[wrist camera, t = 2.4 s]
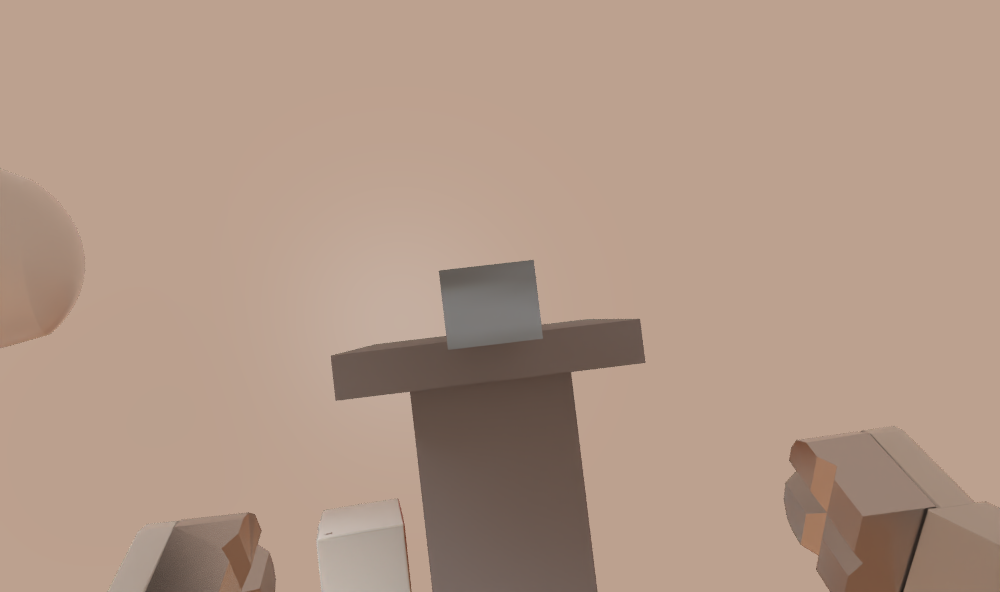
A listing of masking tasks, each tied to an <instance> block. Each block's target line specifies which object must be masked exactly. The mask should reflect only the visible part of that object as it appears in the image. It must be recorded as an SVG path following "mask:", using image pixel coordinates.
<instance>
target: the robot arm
mask: <svg viewBox="0 0 1000 592" xmlns="http://www.w3.org/2000/svg"><path fill="white" fill-rule="evenodd" d="M84 273H85V256H84V250H83V245H82V241H81V238H80V235H79V233H78V231H77V228H76V226H75V224H74V222H73V221H72V219H71V217H70V216H69V214H68V213H67V212H66V210H65V209H64V208H63V206H62V205H61V204H60V203H59V202H58V201H57V200H56V199H55V198H54V197H53V196H52V195H51V194H50V193H49V192H48V191H46V190H45V189H44V188H43V187H41V186H40V185H39V184H37V183H36V182H34V181H33V180H31V179H28V178H25V177H22V176H20V175H17V174H14V173H12V172H9V171H6V170H3V169H1V168H0V348H4V347H8V346H11V345H14V344H18V343H22V342H25V341H29V340H32V339H36V338H39V337H43V336H46V335H49V334H51V333H52V332H53V331H54V330H55V329H56V328H57V327H59V325H60V324H61V323H62V322H63V321H64V320H65V318H66V317H67V316H68V315H69V313H70V311H71V310H72V308H73V307H74V305H75V303H76V301H77V299H78V296H79V294H80V291H81V288H82V285H83V279H84ZM789 461H790V462H791V463H792V465H793V467H794V468H795V470H796V472H795V473H794V474H793V475H792V476H791V477H790V478H789V479H788V481H787V482H786V483H785V492H784V504H785V509H786V515H787V519H788V521H789V524H790V526H791V528H792V531H793V533H794V534H795V536H796V538H797V539H798V541H799V542H800V544H801V545H802V546H804V547H805V548H807V549H809V550H810V551H812V552H814V553H815V554H817V555H818V556H819V557H818V562H817V568H816V570H817V572H818V573H819V575H820V576H821V578H822V580H823V581H824V583H825V584H826V586H827V587H828V589H829V590H830V592H1000V508H999V507H997V506H995V505H992V504H990V503H988V502H977V503H975V502H974V501H973V500H972V499H971V498H970V497H969V496H968V495H967V494H966V493H965V492H964V491H963V490H962V489H961V488H960V487H959V486H958V485H957V484H956V483H955V482H954V481H953V480H952V479H951V478H950V477H949V476H948V475H947V474H946V473H945V472H944V471H943V470H942V469H941V468H940V467H939V466H938V465H937V464H936V463H935V462H934V461H933V460H932V459H931V458H930V457H929V456H928V455H927V454H926V452H924V451H923V449H922V448H920V446H919V445H917V444H916V442H915V441H914V440H913V439H912V438H911V437H909V435H908V434H907V433H906V432H904V431H903V430H902V429H900V428H897V427H895V426H891V427H883V428H877V429H870V430H863V431H860V432H850V433H843V434H836V435H829V436H822V437H816V438H808V439H801V440H796V441H795V443H794V444H793V446H792V447H791V452H790V458H789ZM260 534H261V528H260V526H259V523H258V521H257V518H256V516H255V514H252V513H239V514H230V515H221V516H212V517H202V518H193V519H184V520H181V521H173V522H163V523H154V524H153V523H152V524H146V525H145V526H144V527H143V528H142V529H141V530H139V531H138V533H137V534H136V536H135V538H134V540H133V542H132V545H131V546H130V548H129V550H128V552H127V554H126V556H125V558H124V560H123V562H122V564H121V566H120V568H119V570H118V572H117V573H116V575H115V578H114V579H113V581H112V584H111V585H110V587H109V589H108V591H107V592H275V580H276V579H275V572H274V566H273V562H272V559H271V556H270V553H269V551H267V550H266V549H264V548H263V547H261V546H259V545H258V541H259V538H260Z"/></svg>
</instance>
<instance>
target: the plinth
mask: <svg viewBox="0 0 1000 592" xmlns="http://www.w3.org/2000/svg"><path fill="white" fill-rule="evenodd" d="M541 327H542V335H543V339H536V340H527V341H519V342H511V343H502V344H494V345H485V346H477V347H469V348H460V349H452V350H448V345H447V336H443V337H434V338H425V339H417V340H408V341H401V342H392V343H383V344H376V345H372V346H367V347H363V348H360V349H356V350H352V351H348V352H344V353H340V354H336V355H332V356H331V362H332V371H333V379H334V389H335V398H336V400H345V399H353V398H361V397H369V396H376V395H385V394H394V393H402V392H410V395H411V403H412V412H413V421H414V430H415V438H416V447H417V456H418V465H419V475H420V483H421V492H422V501H423V510H424V519H425V528H426V537H427V546H428V554H429V563H430V572H431V580H432V590H433V592H597V585H596V576H595V568H594V561H593V552H592V543H591V535H590V528H589V518H588V510H587V502H586V493H585V486H584V477H583V469H582V460H581V452H580V444H579V435H578V427H577V419H576V411H575V402H574V395H573V386H572V378H571V372H574V371H582V370H590V369H598V368H606V367H615V366H622V365H631V364H639V363H645V356H644V348H643V340H642V333H641V324H640V319H587V320H577V321H569V322H560V323H552V324H544V325H541Z"/></svg>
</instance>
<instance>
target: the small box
mask: <svg viewBox="0 0 1000 592" xmlns="http://www.w3.org/2000/svg"><path fill="white" fill-rule="evenodd" d="M316 543H317V554H318V563H319V573H320V583H321V592H411V583H410V573H409V564H408V555H407V544H406V535H405V526H404V521H403V516H402V512H401V507H400V503H399V500H398V499H390V500H384V501H378V502H371V503H365V504H358V505H353V506H346V507H340V508H334V509H327V510H324V511H323V513H322V516H321V520H320V522H319V525H318V534H317V539H316Z"/></svg>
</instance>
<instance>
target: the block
mask: <svg viewBox="0 0 1000 592" xmlns="http://www.w3.org/2000/svg"><path fill="white" fill-rule="evenodd" d="M439 275H440V284H441V293H442V301H443V310H444V318H445V328H446V336H447V345H448V350H452V349H460V348H469V347H477V346H485V345H494V344H502V343H511V342H519V341H527V340H536V339H543V335H542V327H541V318H540V310H539V302H538V293H537V285H536V276H535V269H534V261H533V260H529V261H521V262H512V263H503V264H494V265H485V266H476V267H467V268H459V269H450V270H441V271H439Z"/></svg>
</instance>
